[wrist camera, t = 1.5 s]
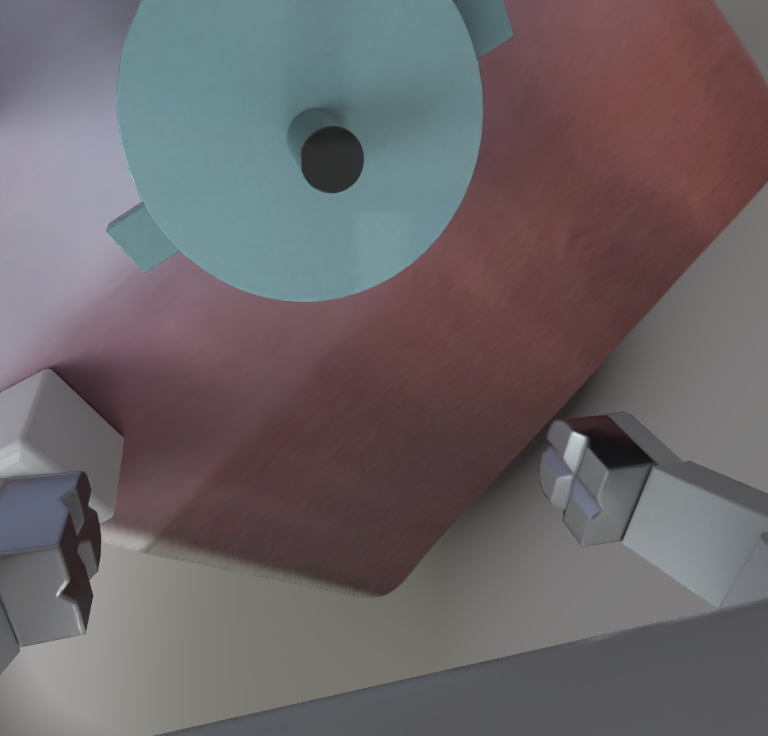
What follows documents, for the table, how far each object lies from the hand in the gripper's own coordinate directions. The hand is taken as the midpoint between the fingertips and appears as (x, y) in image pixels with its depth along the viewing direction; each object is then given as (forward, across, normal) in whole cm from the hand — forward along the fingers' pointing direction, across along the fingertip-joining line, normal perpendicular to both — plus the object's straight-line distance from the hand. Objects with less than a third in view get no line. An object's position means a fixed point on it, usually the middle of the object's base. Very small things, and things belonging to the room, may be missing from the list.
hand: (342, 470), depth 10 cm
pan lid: (+18, -2, -3) cm, 18 cm away
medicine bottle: (+26, +14, +17) cm, 34 cm away
